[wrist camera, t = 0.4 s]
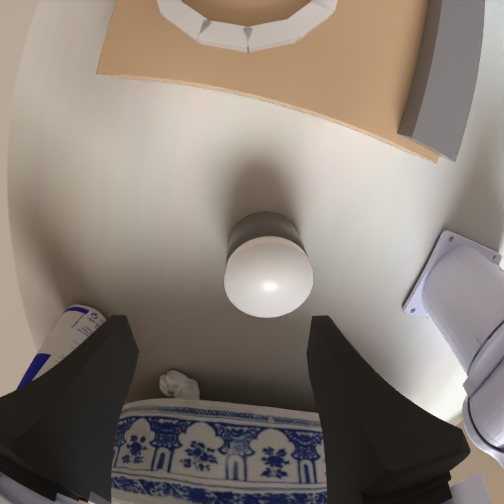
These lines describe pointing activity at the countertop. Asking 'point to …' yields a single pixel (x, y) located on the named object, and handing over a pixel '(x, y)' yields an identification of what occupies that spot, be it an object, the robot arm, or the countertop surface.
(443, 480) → the robot arm
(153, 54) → the tan flat ringed block
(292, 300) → the white domed push button
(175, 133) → the countertop surface
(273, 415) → the decorative bowl
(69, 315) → the white and blue canister
